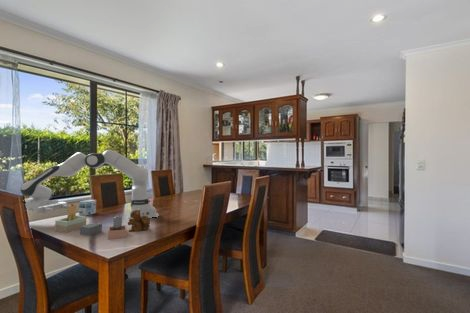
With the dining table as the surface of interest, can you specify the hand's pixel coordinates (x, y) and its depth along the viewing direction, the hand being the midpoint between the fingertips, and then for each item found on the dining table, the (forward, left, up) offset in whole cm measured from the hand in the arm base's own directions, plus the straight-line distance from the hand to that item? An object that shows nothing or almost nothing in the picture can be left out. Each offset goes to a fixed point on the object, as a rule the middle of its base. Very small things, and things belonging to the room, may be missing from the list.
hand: (59, 208), depth 158 cm
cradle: (-19, +21, -12) cm, 31 cm away
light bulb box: (-13, -35, -12) cm, 39 cm away
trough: (-7, +6, -12) cm, 16 cm away
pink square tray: (-33, +33, -12) cm, 49 cm away
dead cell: (-33, +33, -12) cm, 49 cm away
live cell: (-7, +6, -8) cm, 13 cm away
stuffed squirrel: (-47, +25, -12) cm, 55 cm away
